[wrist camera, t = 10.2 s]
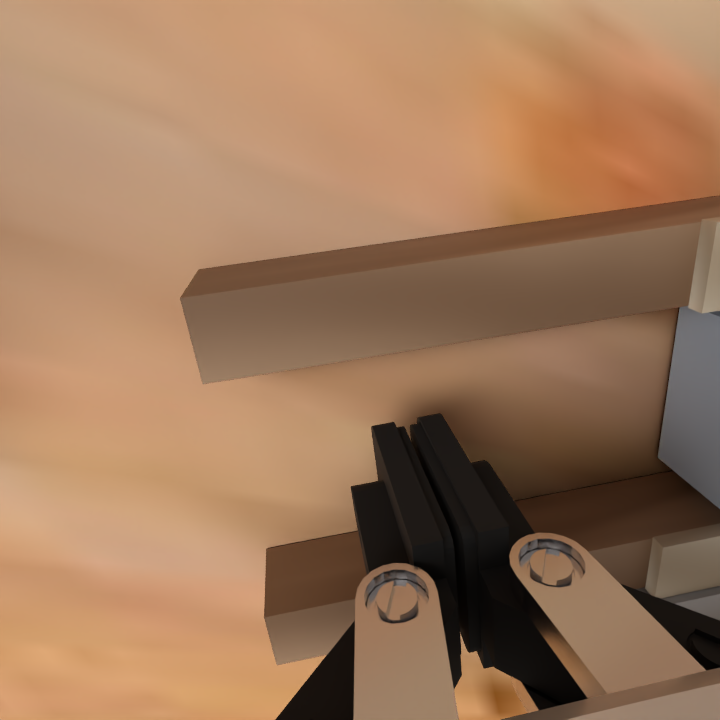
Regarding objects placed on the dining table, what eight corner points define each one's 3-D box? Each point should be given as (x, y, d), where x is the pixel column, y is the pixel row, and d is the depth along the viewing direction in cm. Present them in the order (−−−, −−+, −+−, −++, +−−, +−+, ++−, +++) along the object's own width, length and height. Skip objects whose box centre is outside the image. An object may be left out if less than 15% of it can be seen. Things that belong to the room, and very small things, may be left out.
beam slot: (198, 267, 12) (173, 304, 9) (1153, 132, 14) (1366, 129, 11) (293, 660, 17) (295, 759, 14) (972, 516, 19) (1087, 577, 17)
